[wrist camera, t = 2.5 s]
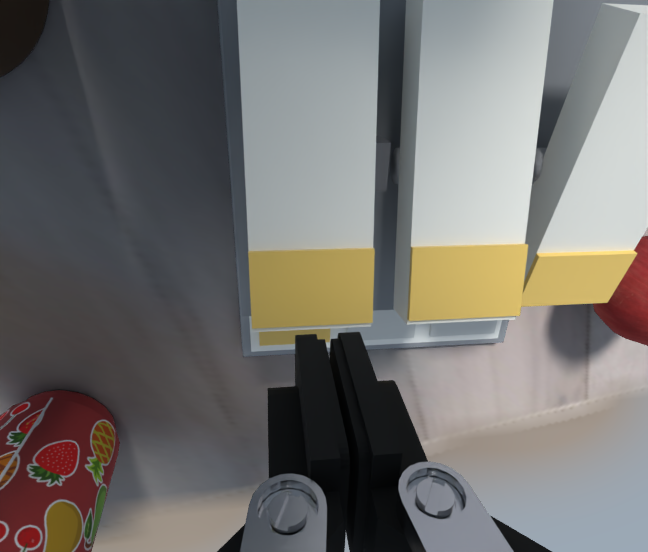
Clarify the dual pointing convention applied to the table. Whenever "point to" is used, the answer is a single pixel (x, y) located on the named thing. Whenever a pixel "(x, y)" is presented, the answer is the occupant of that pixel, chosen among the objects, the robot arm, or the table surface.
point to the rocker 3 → (593, 170)
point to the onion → (630, 300)
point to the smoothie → (54, 472)
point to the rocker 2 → (467, 156)
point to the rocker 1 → (309, 159)
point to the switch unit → (389, 175)
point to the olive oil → (19, 30)
